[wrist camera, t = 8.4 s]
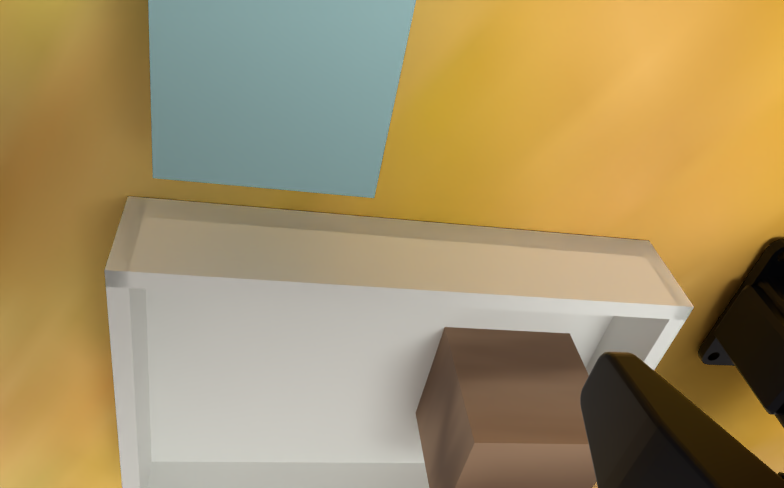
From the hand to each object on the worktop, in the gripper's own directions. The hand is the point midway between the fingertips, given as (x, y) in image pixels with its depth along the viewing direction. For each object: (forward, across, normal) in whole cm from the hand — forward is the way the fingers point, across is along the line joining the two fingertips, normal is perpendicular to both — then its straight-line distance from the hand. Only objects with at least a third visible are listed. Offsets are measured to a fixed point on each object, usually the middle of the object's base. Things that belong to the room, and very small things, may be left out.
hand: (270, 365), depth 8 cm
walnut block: (+11, -9, +13) cm, 19 cm away
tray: (+12, -5, +13) cm, 18 cm away
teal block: (+12, 0, 0) cm, 12 cm away
